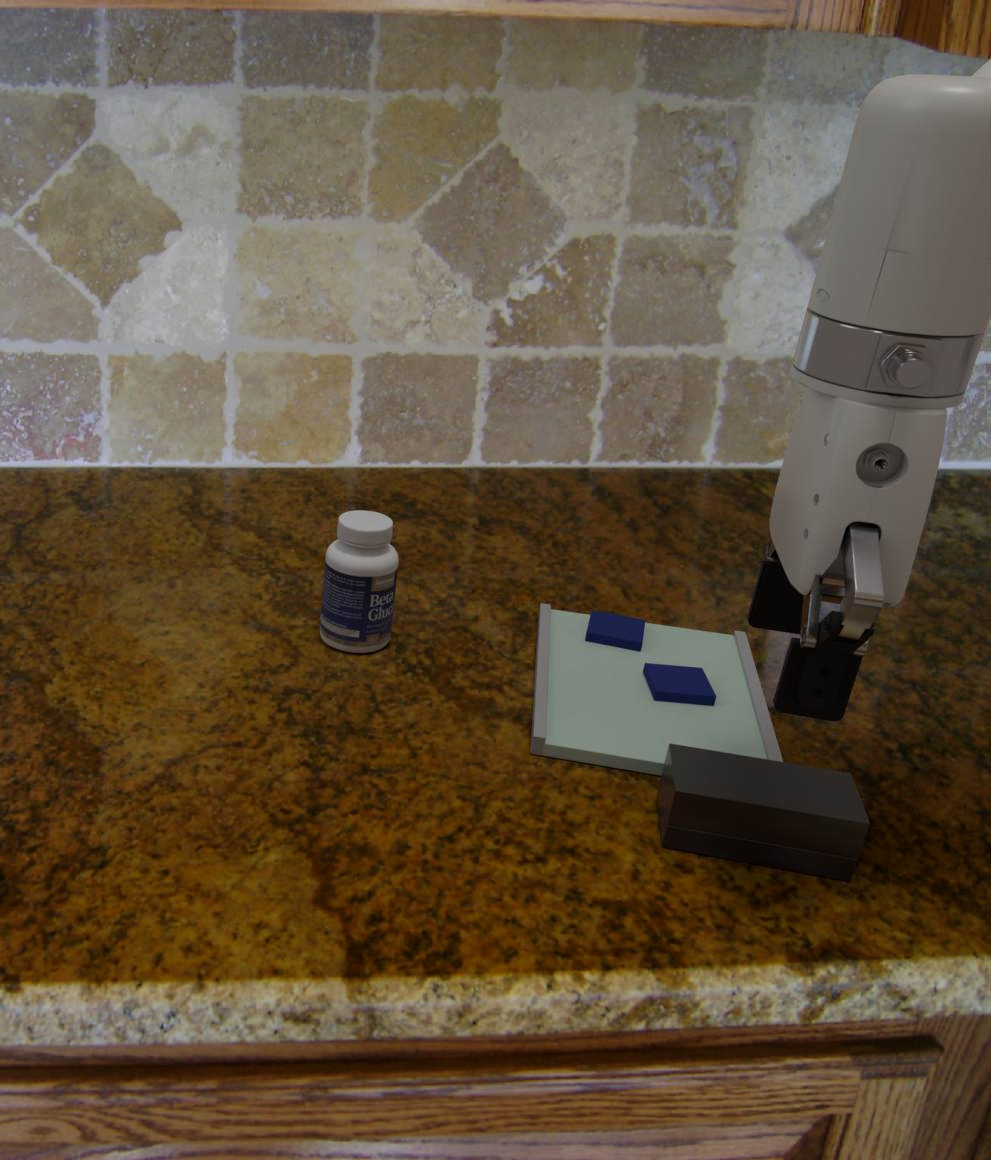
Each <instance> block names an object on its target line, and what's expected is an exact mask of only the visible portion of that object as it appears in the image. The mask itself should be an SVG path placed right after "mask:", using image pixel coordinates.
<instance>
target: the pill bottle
mask: <svg viewBox="0 0 991 1160" xmlns="http://www.w3.org/2000/svg"><path fill="white" fill-rule="evenodd" d="M393 530H394V522H393V520H392V518H391V517H389V516H387V515H386V514H383V513H380V512H377V511H373V510H364V509H359V510H358V509H357V510H349V511H345V512H343V513H342V514H340V515H339V517H338V520H337V528H336V536H337V537H336V538H337V539H336V540H334V541H332V542H331V543H330V544H329V546H327V549H326V552H325V560H324V572H323V580H322V581H323V583H322V594H321V606H320V616H319V617H320V618H319V635H320V638H321V640H322V641H323V643H325V644H326V645H327V646H329V647H331V648H332V649H336V650H338V651H342V652H347V653H352V654H353V653H354V654H368V653H373V652H377V651H379V650H381V649H384V648H385V647H386V646H387V645H388V644H389V642H390V639H391V634H392V633H391V632H392V627H393V617H394V609H395V608H394V607H395V599H396V589H397V580H398V572H399V562H400V560H399V554H398V551H397V550H396V548H395V547H393V545H392V544H390V543H391V542H392V538H393V532H394V531H393Z"/></svg>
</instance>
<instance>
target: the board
mask: <svg viewBox="0 0 991 1160" xmlns="http://www.w3.org/2000/svg"><path fill="white" fill-rule="evenodd" d="M538 609H539V610H538V615H537V628H536V645H535V646H536V648H535V661H534V680H533V696H532V697H533V698H532V716H531V733H530V751H529V752H530V754H531V755H536V756H543V757H548V758H554V759H559V760H560V759H561V760H567V761H572V762H578V763H584V764H590V765H596V766H601V767H608V768H613V769H619V770H625V771H630V772H636V773H642V774H647V775H648V774H649V775H653V776H654V775H655V776H660V777H662V771H663V767H664V763H665V759H666V754H667V750H668V746H669V743H671V744H677V745H683V746H689V747H695V748H701V749H707V750H713V751H719V752H725V753H731V754H737V755H744V756H750V757H756V758H762V759H768V760H774V761H780V762H784V758H783V756H782V753H781V750H780V745H779V742H778V738H777V736H776V731H775V728H774V725H773V721H772V718H771V714H770V711H769V708H768V705H767V704H768V703H767V701H766V698H765V694H764V691H763V688H762V684H761V680H760V677H759V674H758V671H757V667H756V663H755V660H754V657H753V652H752V649H751V646H750V643H749V639H748V636H747V633H746V631H742V630H741V631H740V630H734V631H733V634H727V633H721V632H713V631H707V630H705V631H704V630H698V629H692V628H686V627H678V626H671V625H665V624H657V623H649V622H645V628H644V636H643V643H642V648H641V651H635V650H629V649H624V648H619V647H614V646H609V645H604V644H598V643H593V642H588V641H585V638H586V633H587V628H588V624H589V619H590V615H591V614H587V613H579V612H575V611H573V612H572V611H565V610H560V609H559V610H558V609H552V604H551V603H544V602H540V604H539V608H538ZM645 663H652V664H664V665H675V666H687V667H698V668H703V670H704V672H705V675H706V677H707V679H708V681H709V683H710V685H711V687H712V689H713V691H714V693H715V695H716V700H715V704H714V706H710V705H699V704H688V703H677V702H666V701H655V700H654V698H653V696H652V693H651V691H650V688H649V686H648V683H647V681H646V678H645V676H644V673H643V669H644V664H645Z"/></svg>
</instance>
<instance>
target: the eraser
mask: <svg viewBox="0 0 991 1160" xmlns="http://www.w3.org/2000/svg"><path fill="white" fill-rule="evenodd" d="M657 789H658V790H657V793H656V806H657V814H658V815H657V816H658V823H659V831H660V840H661V841H660V842H661V847H662V848H666V849H669V850H670V849H671V850H676V851H682V852H687V853H693V854H697V855H703V856H709V857H714V858H720V859H726V860H731V861H736V862H741V863H746V864H747V863H748V864H753V865H758V866H762V867H763V866H764V867H769V868H773V869H774V868H775V869H779V870H785V871H791V872H795V873H801V874H807V875H812V876H817V877H823V878H829V879H832V880H833V879H834V880H839V881H844V882H851V881H852V879H853V875H854V872H855V869H856V866H857V863H858V860H859V858H860V855H861V852H862V849H863V846H864V843H865V840H866V837H867V834H868V831H869V829H870V826H871V823H870V821H869V817H868V815H867V812H866V810H865V806H864V805H863V801H862V799H861V797H860V794H859V791H858V788H857V785H856V783H855V781H854V777H853V775H852V773H851V772H846V771H841V770H835V769H828V768H822V767H816V766H809V765H805V764H798V763H792V762H786V761H783V762H780V761H774V760H768V759H762V758H756V757H750V756H744V755H737V754H731V753H725V752H719V751H713V750H707V749H701V748H695V747H689V746H683V745H677V744H671V743H669V746H668V750H667V754H666V759H665V763H664V767H663V771H662V776H661V778H660V781H659V785H658V788H657Z"/></svg>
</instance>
